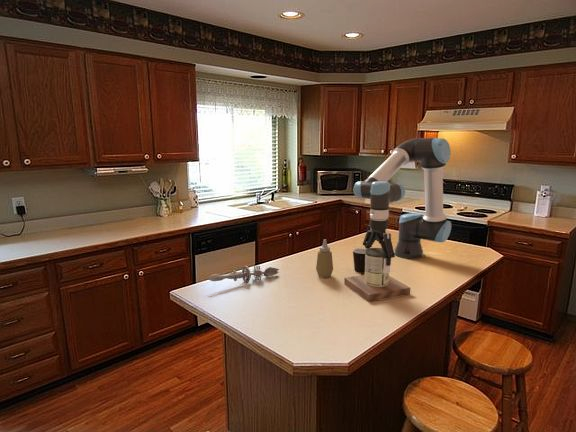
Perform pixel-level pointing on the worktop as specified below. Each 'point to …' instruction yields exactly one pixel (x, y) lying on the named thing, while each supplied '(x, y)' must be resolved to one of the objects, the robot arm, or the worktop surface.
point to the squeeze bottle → (324, 261)
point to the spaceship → (245, 274)
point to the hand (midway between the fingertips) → (377, 267)
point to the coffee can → (375, 268)
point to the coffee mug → (359, 260)
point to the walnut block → (376, 288)
